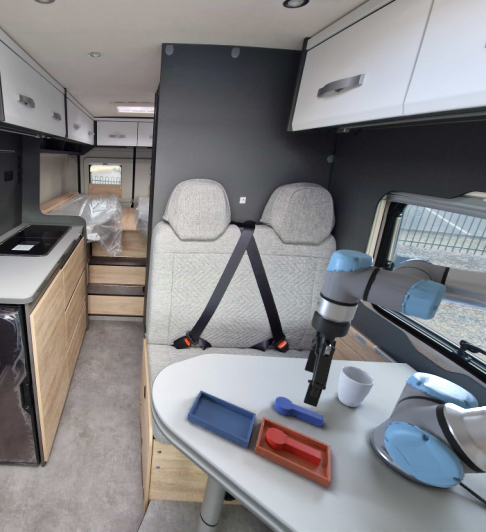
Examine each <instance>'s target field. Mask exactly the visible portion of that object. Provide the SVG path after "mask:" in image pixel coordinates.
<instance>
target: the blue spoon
mask: <svg viewBox="0 0 486 532" xmlns="http://www.w3.org/2000/svg"><path fill="white" fill-rule="evenodd" d="M273 408H274V410H275V411H276V412H277V413H278V414H280V415H283V416H292V417H295V418H297V419H300V420H302V421H305V422H307V423H310V424H312V425H314V426H317V427H319V428H322V427H323V424H324V421H325V420H324V419H325V417H324V415H323V414H320V413H319V412H315V411H314V410H310V409H308V408H305V407H303V406H301V405H298V404H295V403H293V401H291V399H289V398H287V397H285V396H277V397H276V398H275V400H274V404H273Z"/></svg>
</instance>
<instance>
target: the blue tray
mask: <svg viewBox="0 0 486 532" xmlns="http://www.w3.org/2000/svg"><path fill="white" fill-rule="evenodd" d="M256 416H257V413H255V412H252V411H250V410H247V409H245V408H243V407H241V406H239V405H236V404H234V403H232V402H229V401H227V400H225V399H222V398H219V397H217V396H215V395H213V394H210V393H209V392H206V391H203V390H199V393H198V394H197V397H196V399H195V400H194V401H193V404H192V406H191V407H190V410H189V412H188V413H187V419H186V420H187V421H189V422H191V423H193V424H195V425H197V426H198V427H202V428H204V429H206V430H207V431H209V432H212V433H214V434H215V435H218V436H220V437H221V438H224V439H226V440H228V441H230V442H233V444H236V445H239V446H241V447H243V448H245V449H248V446H249V443H250V440H251V439H250V438H251V435H252V431H253V428H254V425H255V420H256Z"/></svg>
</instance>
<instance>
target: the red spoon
mask: <svg viewBox="0 0 486 532" xmlns="http://www.w3.org/2000/svg"><path fill="white" fill-rule="evenodd" d="M265 441H266V443H267V445H268V446H269V447H270V448H272V449H274V450H277V451H281V450H285V451H287V452H289V453H292V454H294V455H296V456H298V457H300V458H302V459H305V460H307V461H309V462H311V463H313V464H315V465H317V466H319V464H320V461H321V452H320V451H318V450H316V449H313V448H311V447H309V446H306V445H304V444H302V443H300V442H297V441H295V440H293V439H291V438H288V437H286V435H285V434H284V433H283V432H282V431H281V430H279V429H277V428H269V429H268V430H267V432H266V436H265Z"/></svg>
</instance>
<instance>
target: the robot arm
mask: <svg viewBox="0 0 486 532" xmlns="http://www.w3.org/2000/svg"><path fill="white" fill-rule="evenodd" d="M373 262H374V258H373V256H372V255H370V254H368V253H364V252H362V251H358V250H353V249H338V250H335V251H333V253H332V254H331V257H330V260H329V263H328V264H327V267H326V269H325V274H324V278H323V282H322V286H321V289H320V292H319V296H318V297H315V299H314V301H315V302H316V305H315V310H314V312H313V315H312V319H311V322H310V324H311V327H312V328H313V329H314V330H315V333H314V335H313V338H312V339H311V345H310V348H311V349H310V350H309V353H308V357H307V359H306V363H305V366H304V371H306V372H309V373H312V376H311V377H312V378H311V379H307V383H308V386H307V389H306V393H305V395H304V399H303V404H306V405H309V406H311V407H315V408H317V407H318V404H319V401H320V399H321V395H322V393H323V391H325V390H326V389H327V383H328V380H329V379H328V378H329V374H330V370H331V365H332V361H333V357H334V355H335V352H336V345H337V340H336V338H344V337H346V336H348V333H349V331H350V329H351V325H352V321H353V320H354V317H355V314H356V312H357V308H358V306H359V301H363V302H366V303H370V304H373V305H376V306H379V307H381V308H385V309H388V310H390V311H391V310H392V311H394V312H397V313H400V314H403V315H404V316H408V317H414V318H418V319H421V320H425V321H429V320H432V319H434V318H435V316H436V314H437V312H438V309H439V308H440V305H441V303H442V302H444V303H448V304H453V305H458V306H463V307H468V308H472V309H477V310H482V311H486V271H479V270H473V269H466V268H459V267H452V266H445V265H441V264H440V265H439V264H434V263H432V262H431V261H428V260H427V259H423V258H410V259H406V260H405V261H402V262H400V263H398V264H397V265H396V266H395V267H394V268H393V270H387V269H383V268H381V267H377V266H374V264H373ZM369 441H370V444H371V447H372V448H373V450H374V452H375V453H376V455H377V456H378V457H379V458H380V459H381V461H383V463H385V464H386V465H387V466H388V467H389V468H391V470H394V472H396V473H398V474H400V475H401V476H402V477H404V478H406V479H408V480H411V481H412V482H415V483H416V484H417V483H418V484H420V485H423V486H427V487H435V488H437V487H438V488H442V489H443V488H445V489H446V488H447V489H448V488H454V487H457V486H460V487H462V489H464V490H466V491H467V493H470V494H471V495H472V496H473V497H475V498H476V499H478V500H479V501H480V502H481V503H483V505H485V506H486V500H485V499H484V498H483V497H482V496H480V495H479V494H478V493H476V492H475V491H474V490H473V489H471V488H470V487H469V486H467V485H466V484H465V483H464V482H462V481H464V478H465V476H466V475H467V474H486V406H481V407H480V406H479V402H478V400H477V398H476V397H475V396H474V395H473V394H472V393H471V392H469V391H468V390H466V389H465V388H463V387H461V386H460V385H458V384H456V383H454V382H452V381H450V380H447V379H445V378H443V377H440V376H437V375H435V374H430V373H426V372H414V373H411V374H410V375H409V377H408V378H407V379H406V380H405V385H404V387H403V389H402V391H401V393H400V395H399V397H398V399H397V401H396V404H395V405H394V408H393V410H392V412H391V415H390V416H389V417H388V418H387V419H385V421H382V423H380V424H379V425H377V426H376V427H375V428H374V429H373V430H372V433H371V434H370V440H369ZM465 474H466V475H465Z"/></svg>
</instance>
